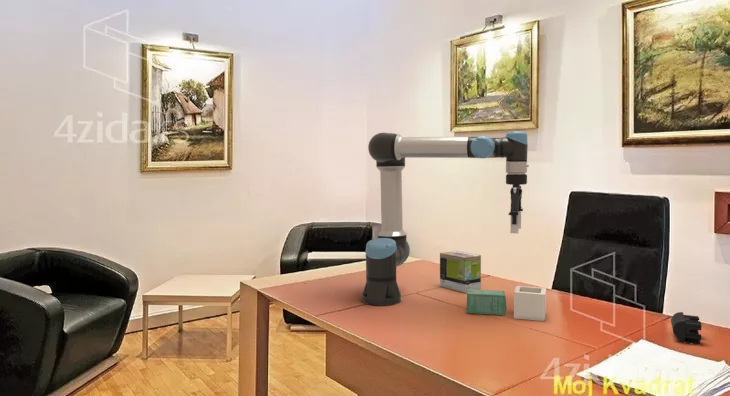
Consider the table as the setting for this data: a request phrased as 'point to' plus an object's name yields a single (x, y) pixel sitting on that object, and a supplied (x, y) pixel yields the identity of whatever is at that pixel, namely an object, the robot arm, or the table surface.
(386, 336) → the table surface
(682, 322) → the end cap
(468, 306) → the box
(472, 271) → the tea box
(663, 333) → the table surface
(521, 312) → the tub
